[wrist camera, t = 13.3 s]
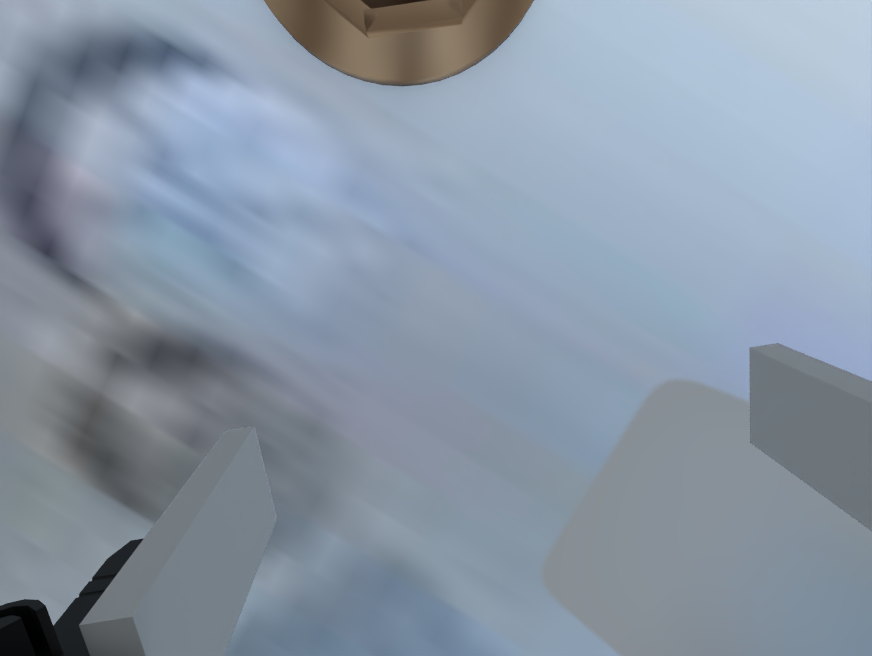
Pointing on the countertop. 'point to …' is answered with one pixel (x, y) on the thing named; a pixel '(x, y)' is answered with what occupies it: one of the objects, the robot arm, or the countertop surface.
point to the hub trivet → (400, 35)
